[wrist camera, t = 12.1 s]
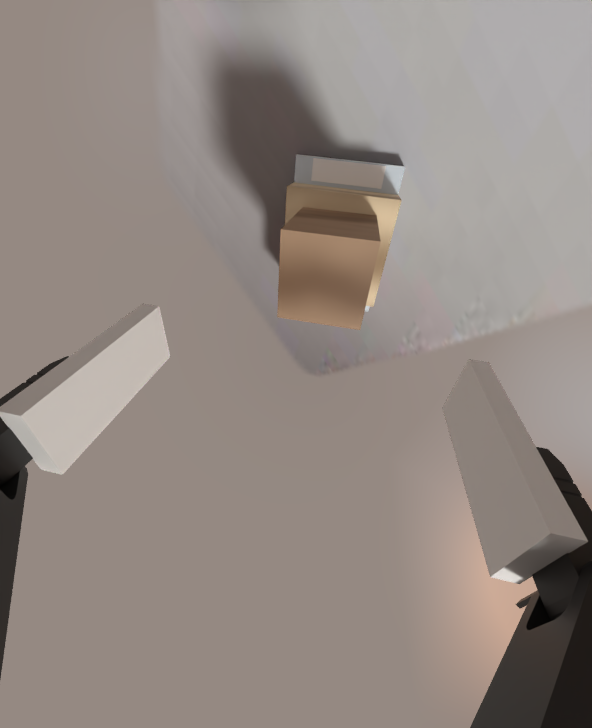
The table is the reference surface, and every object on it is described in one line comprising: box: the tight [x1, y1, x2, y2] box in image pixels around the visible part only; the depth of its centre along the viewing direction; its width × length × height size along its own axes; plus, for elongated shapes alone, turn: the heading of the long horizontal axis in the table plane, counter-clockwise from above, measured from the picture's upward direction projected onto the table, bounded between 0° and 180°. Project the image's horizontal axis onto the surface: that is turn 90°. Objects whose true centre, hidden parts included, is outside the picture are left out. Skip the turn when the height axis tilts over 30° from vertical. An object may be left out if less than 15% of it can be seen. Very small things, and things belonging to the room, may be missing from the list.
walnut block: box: [277, 207, 381, 330], centre depth 23 cm, size 6×6×8 cm
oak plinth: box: [285, 182, 401, 307], centre depth 27 cm, size 9×9×3 cm
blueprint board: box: [294, 154, 405, 312], centre depth 29 cm, size 13×9×1 cm
